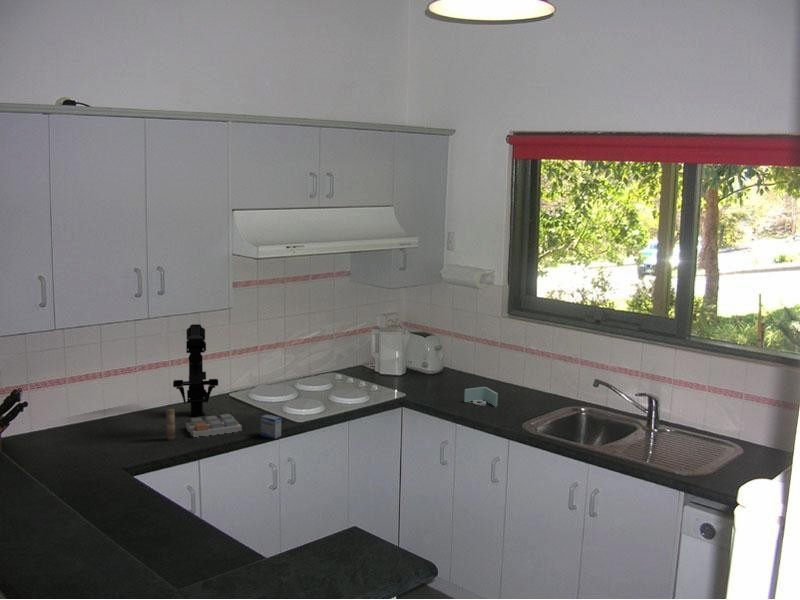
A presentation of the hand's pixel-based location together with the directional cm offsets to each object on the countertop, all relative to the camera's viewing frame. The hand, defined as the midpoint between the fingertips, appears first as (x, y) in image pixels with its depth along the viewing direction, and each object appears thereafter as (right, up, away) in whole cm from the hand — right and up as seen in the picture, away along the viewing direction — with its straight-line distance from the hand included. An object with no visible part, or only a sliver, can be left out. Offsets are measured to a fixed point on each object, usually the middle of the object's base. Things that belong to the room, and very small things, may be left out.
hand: (196, 403), depth 354 cm
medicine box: (+31, -15, +4) cm, 35 cm away
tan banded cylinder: (-9, -15, -4) cm, 18 cm away
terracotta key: (+1, -12, +2) cm, 12 cm away
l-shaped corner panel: (+127, -8, +56) cm, 139 cm away
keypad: (+6, -13, +9) cm, 16 cm away
